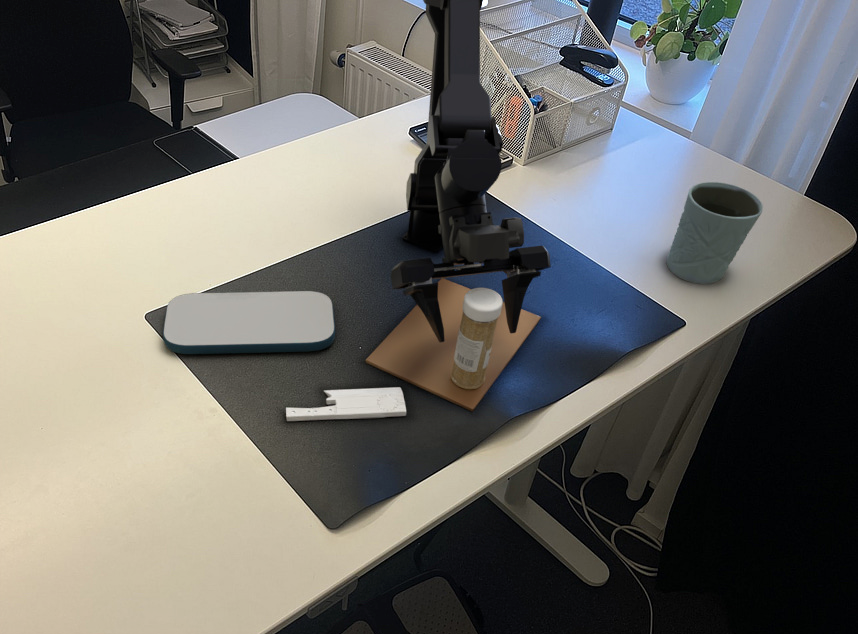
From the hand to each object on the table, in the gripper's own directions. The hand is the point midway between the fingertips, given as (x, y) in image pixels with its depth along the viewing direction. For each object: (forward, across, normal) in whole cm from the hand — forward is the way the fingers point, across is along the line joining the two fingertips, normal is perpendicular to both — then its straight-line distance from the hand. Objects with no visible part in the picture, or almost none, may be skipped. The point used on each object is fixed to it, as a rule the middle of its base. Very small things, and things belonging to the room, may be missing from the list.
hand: (477, 337), depth 93 cm
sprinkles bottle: (+5, 0, +6) cm, 8 cm away
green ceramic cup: (-7, +43, +19) cm, 48 cm away
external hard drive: (-6, -27, +18) cm, 32 cm away
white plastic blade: (+6, -17, +5) cm, 19 cm away
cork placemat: (0, +1, +12) cm, 12 cm away
